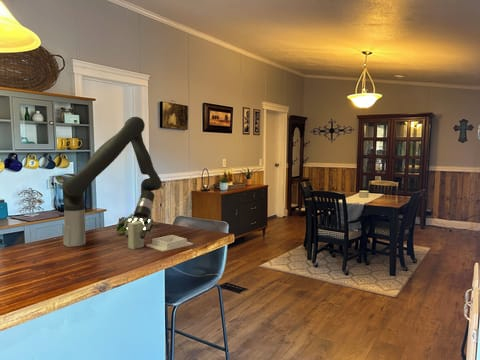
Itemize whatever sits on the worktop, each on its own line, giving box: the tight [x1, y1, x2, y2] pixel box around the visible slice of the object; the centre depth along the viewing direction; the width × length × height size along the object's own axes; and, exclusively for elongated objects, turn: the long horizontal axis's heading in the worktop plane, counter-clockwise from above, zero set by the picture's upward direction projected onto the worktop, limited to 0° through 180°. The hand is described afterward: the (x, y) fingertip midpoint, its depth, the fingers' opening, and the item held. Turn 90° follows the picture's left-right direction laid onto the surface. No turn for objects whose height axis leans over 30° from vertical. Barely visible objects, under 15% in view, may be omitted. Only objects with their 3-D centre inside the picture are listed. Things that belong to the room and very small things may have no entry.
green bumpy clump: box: [114, 216, 132, 236], centre depth 205 cm, size 11×11×12 cm
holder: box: [145, 234, 194, 252], centre depth 182 cm, size 18×14×3 cm
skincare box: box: [127, 221, 145, 250], centre depth 177 cm, size 6×4×12 cm
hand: (134, 237), depth 176 cm, fingers closed on skincare box, 6 cm apart
